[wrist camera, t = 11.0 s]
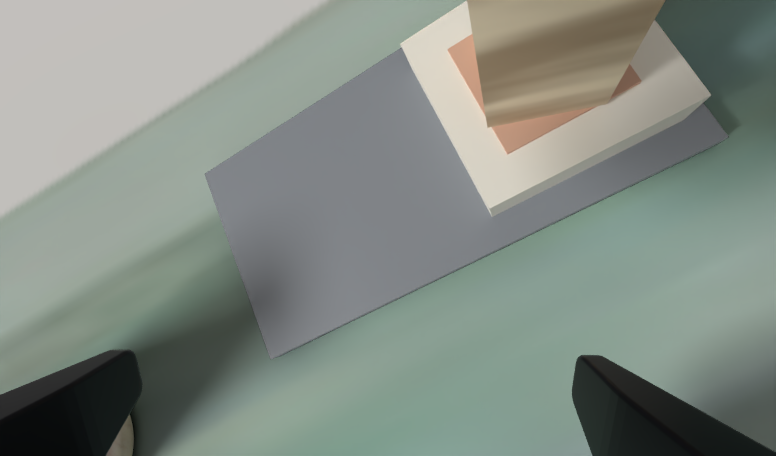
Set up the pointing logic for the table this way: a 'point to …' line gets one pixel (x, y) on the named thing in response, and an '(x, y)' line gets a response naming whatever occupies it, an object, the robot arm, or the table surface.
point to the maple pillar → (554, 53)
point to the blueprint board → (432, 177)
